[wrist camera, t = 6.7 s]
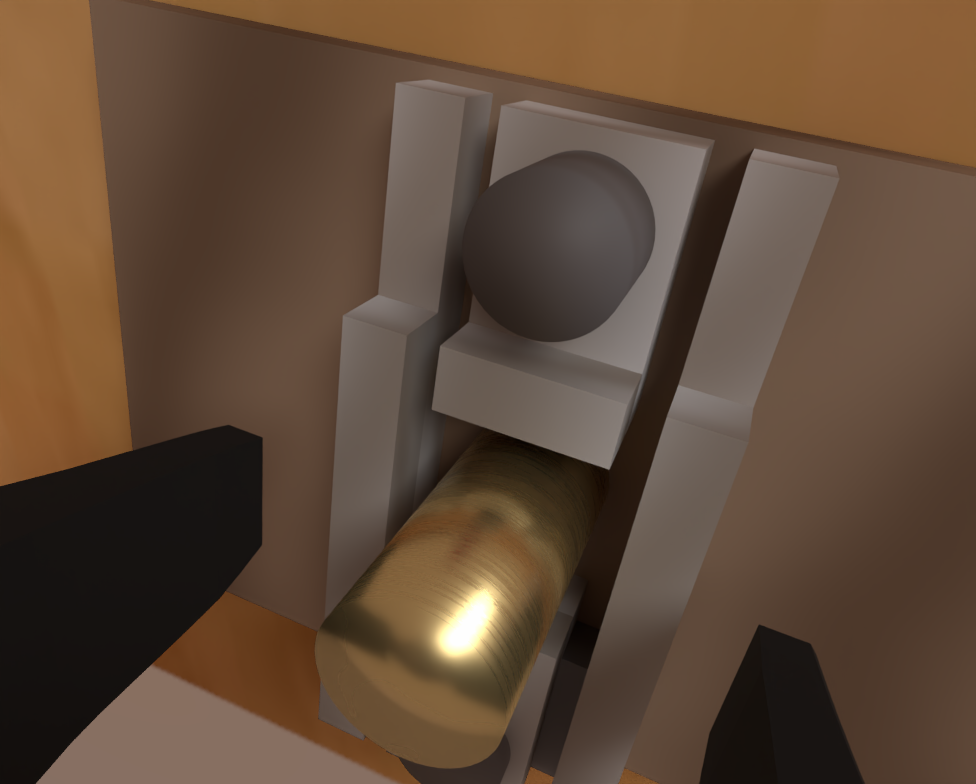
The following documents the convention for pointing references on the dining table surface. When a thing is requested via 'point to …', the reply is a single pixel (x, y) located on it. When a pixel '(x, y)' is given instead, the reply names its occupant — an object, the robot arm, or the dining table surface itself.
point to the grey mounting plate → (567, 367)
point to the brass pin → (461, 602)
